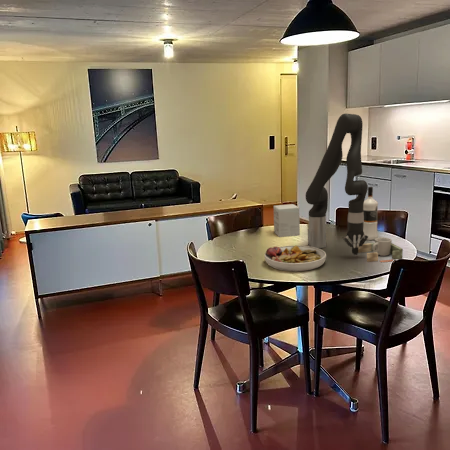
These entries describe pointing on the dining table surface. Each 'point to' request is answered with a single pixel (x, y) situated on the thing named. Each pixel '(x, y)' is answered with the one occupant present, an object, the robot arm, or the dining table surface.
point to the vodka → (370, 216)
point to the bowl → (295, 258)
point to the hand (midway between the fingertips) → (355, 254)
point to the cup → (382, 246)
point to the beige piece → (372, 257)
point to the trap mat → (386, 260)
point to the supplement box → (286, 220)
